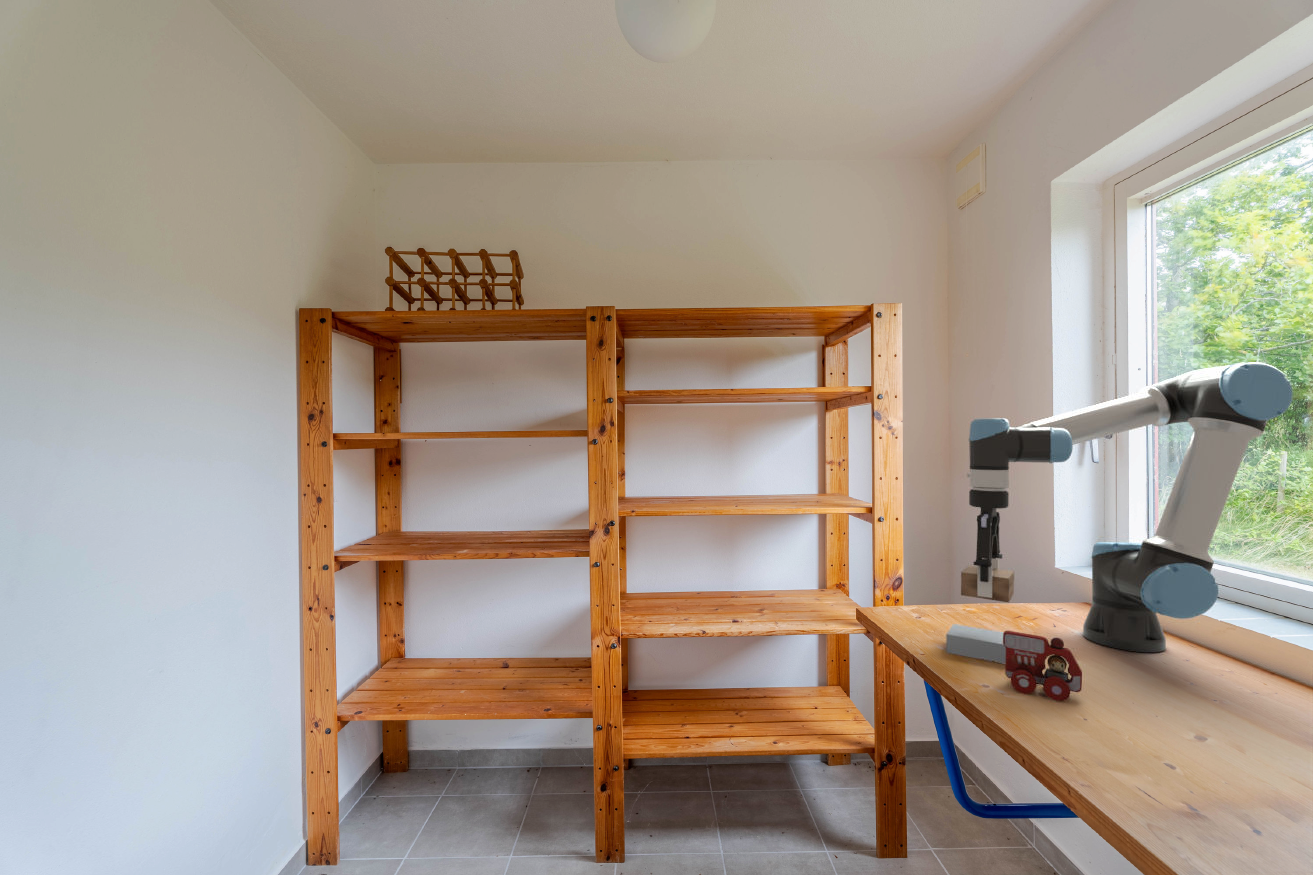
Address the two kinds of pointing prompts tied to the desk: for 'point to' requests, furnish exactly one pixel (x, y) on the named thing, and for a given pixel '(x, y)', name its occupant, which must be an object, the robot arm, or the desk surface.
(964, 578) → the walnut block
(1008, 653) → the toy fire truck
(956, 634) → the plinth
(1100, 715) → the desk surface
